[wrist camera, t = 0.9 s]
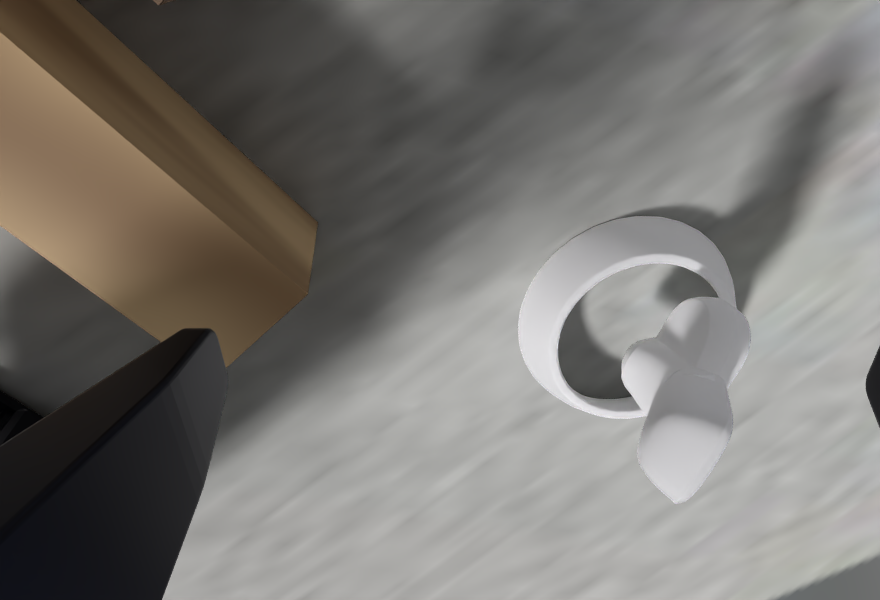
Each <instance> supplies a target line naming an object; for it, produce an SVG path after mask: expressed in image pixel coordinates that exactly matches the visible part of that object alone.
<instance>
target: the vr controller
mask: <svg viewBox="0 0 880 600" xmlns="http://www.w3.org/2000/svg"><path fill="white" fill-rule="evenodd" d="M651 263H658V264H672V265H676V266H681V267H685V268H687V269H689V270H691V271H693V272H695V273H698V274H699V275H700V276H701V277H703V278H704V279H705V280H706V281H708V282H709V283H710V285H711V286H712V287H713V289H714V290H715V291H716V293H717V295H718V298H714V297H695V298H689V299H686V300H684V301H683V302H681V303H680V304H679V305H678V306H677V307H676V308H675V309H674V310H673V311H672V313H671V314H670V316H669V317H668V319H667V320H666V322H665V324H664V325H663V327H662V329H661V330H660V332H659V334H658V335H657V337H655V338H649V339H644V340H640V341H637V342H636V343H634V344H632V345H631V346H630V348H629V349H628V350H627V352H626V353H625V356H624V358H623V360H622V366H621V370H622V375H621V378H622V381H623V383H624V386H625V387H626V389H627V390H628V391H629V392H630V394H631V395H632V396H631V397H625V398H619V399H597V398H591V397H587V396H584V395H582V394H579V393H578V392H576V391H575V390H573V389H572V388H571V387H570V386H569V385H568V383H567V381H566V380H565V378H564V376H563V374H562V371H561V368H560V365H559V360H558V344H559V339H560V333H561V330H562V328H563V326H564V323H565V321H566V318H567V317H568V315H569V313H570V312H571V310H572V309H573V307H574V306H575V304H576V303H577V302H578V301H579V300H580V299H581V298H582V297H583V296H584V294H585V293H586V292H587V291H589V290H590V289H591V288H592V287H594V286H595V285H596V284H598V283H599V282H600V281H602V280H603V279H605V278H607V277H609V276H611V275H613V274H615V273H616V272H619V271H622V270H625V269H628V268H631V267H633V266H638V265H645V264H651ZM518 335H519V346H520V350H521V353H522V356H523V359H524V362H525V364H526V366H527V367H528V369H529V370H530V372H531V374H532V375H533V377H534V378H535V379H536V380H537V381H538V382H539V383H540V384H541V385H542V386H543V387H544V388H545V389H546V390H547V391H548V392H550V393H551V394H552V395H554V396H555V397H557V398H559V399H560V400H562V401H563V402H565V403H567V404H568V405H570V406H572V407H574V408H577V409H579V410H582V411H585V412H587V413H590V414H593V415H596V416H601V417H607V418H613V419H631V418H637V417H643V416H647V418H646V420H645V423H644V426H643V429H642V432H641V436H640V439H639V443H638V449H637V456H638V461H639V465H640V467H641V468H642V470H643V471H644V473H645V474H646V475H647V477H648V478H649V479H650V481H651V482H652V483H653V484H654V485H655V486H656V487H657V488H658V489H659V490H660V491H661V492H662V493H664V494H665V495H666V496H667V497H668V498H669V499H670V500H672V501H673V502H674V503H675V504H678V503H683V502H685V501H686V500H688V499H689V498H691V497H692V496H693V495H694V494H695V493H696V492H697V491H698V489H699V488H700V487H701V485H702V484H703V483H704V481H705V480H706V478H707V477H708V476H709V474H710V473H711V471H712V470H713V468H714V467H715V465H716V463H717V462H718V460H719V459H720V457H721V455H722V453H723V452H724V450H725V448H726V446H727V444H728V442H729V439H730V437H731V434H732V428H733V414H732V410H731V405H730V401H729V396H728V392H727V389H728V388H729V386H730V384H731V383H732V381H733V380H734V378H735V377H736V375H737V374H738V372H739V371H740V369H741V367H742V366H743V364H744V362H745V360H746V358H747V355H748V352H749V348H750V341H751V333H750V327H749V323H748V321H747V319H746V317H745V316H744V315H743V313H741V312H740V311H739V310H737V307H736V299H735V291H734V285H733V280H732V277H731V274H730V271H729V269H728V266H727V264H726V261H725V259H724V257H723V255H722V254H721V253H720V251H719V250H718V248H717V247H716V246H715V244H714V243H713V242H712V241H711V240H710V239H708V238H707V237H706V236H705V235H704V234H703V233H701V232H700V231H699V230H697V229H695V228H693V227H691V226H689V225H687V224H685V223H683V222H681V221H677V220H673V219H669V218H664V217H660V216H633V217H627V218H620V219H615V220H612V221H609V222H606V223H603V224H600V225H597V226H595V227H592V228H590V229H589V230H587V231H585V232H583V233H581V234H579V235H578V236H576V237H574V238H572V239H571V240H570V241H568V242H567V243H566V244H565V245H563V246H562V247H561V248H560V249H558V250H557V251H556V252H555V253H554V254H553V255H552V256H551V257H550V258H549V259H548V260H547V262H546V263H545V264H544V265H543V266H542V267H541V268H540V269H539V271H538V272H537V274H536V276H535V277H534V279H533V281H532V282H531V284H530V286H529V287H528V289H527V292H526V295H525V297H524V300H523V303H522V306H521V309H520V316H519V323H518Z"/></svg>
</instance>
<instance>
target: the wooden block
mask: <svg viewBox="0 0 880 600" xmlns="http://www.w3.org/2000/svg"><path fill="white" fill-rule="evenodd" d="M0 226H1V227H3V228H4V229H5V230H7V231H8V232H10V233H11V234H12V235H14V236H15V237H17V238H18V239H19V240H21V241H22V242H23V243H25V244H26V245H28V246H29V247H30V248H32V249H33V250H34V251H36V252H37V253H39V254H40V255H41V256H43V257H44V258H46V259H47V260H48V261H50V262H51V263H52V264H54V265H55V266H57V267H58V268H59V269H61V270H62V271H63V272H65V273H66V274H68V275H69V276H70V277H72V278H73V279H75V280H76V281H77V282H79V283H80V284H81V285H83V286H84V287H86V288H87V289H88V290H90V291H91V292H92V293H94V294H95V295H97V296H98V297H99V298H101V299H102V300H104V301H105V302H106V303H108V304H109V305H110V306H112V307H113V308H115V309H116V310H117V311H119V312H120V313H121V314H123V315H124V316H126V317H127V318H128V319H130V320H131V321H133V322H134V323H135V324H137V325H138V326H139V327H141V328H142V329H144V330H145V331H146V332H148V333H149V334H150V335H152V336H153V337H155V338H156V339H157V340H159V341H160V342H162V341H164V340H165V339H167V338H169V337H170V336H172V335H173V334H175V333H176V332H178V331H180V330H181V329H184V328H210V329H212V330H213V331H215V333H216V335H217V337H218V340H219V344H220V348H221V352H222V355H223V359H224V363H225V366H226V368H227V367H228V366H229V365H230V364H231V363H232V362H233V361H234V360H236V359H237V358H238V357H239V356H240V355H241V354H242V353H243V352H244V351H246V350H247V349H248V348H249V347H250V346H251V345H252V344H253V343H254V342H256V341H257V340H258V339H259V338H260V337H261V336H262V335H263V334H264V333H266V332H267V331H268V330H269V329H270V328H271V327H272V326H273V325H274V324H275V323H277V322H278V321H279V320H280V319H281V318H282V317H283V316H284V315H285V314H287V313H288V312H289V311H290V310H291V309H292V308H293V307H294V306H295V305H297V304H298V303H299V302H300V301H301V300H302V299H303V298H304V297H305V296H307V295H308V290H309V283H310V276H311V269H312V262H313V255H314V248H315V241H316V233H317V226H318V222H317V221H316V220H315V219H314V218H312V217H311V216H310V215H309V214H308V213H307V212H306V211H305V210H304V209H303V208H302V207H301V206H299V205H298V204H297V203H296V202H295V201H294V200H293V199H292V198H291V197H290V196H289V195H287V194H286V193H285V192H284V191H283V190H282V189H281V188H280V187H279V186H278V185H277V184H275V183H274V182H273V181H272V180H271V179H270V178H269V177H268V176H267V175H266V174H265V173H263V172H262V171H261V170H260V169H259V168H258V167H257V166H256V165H255V164H254V163H253V162H252V161H250V160H249V159H248V158H247V157H246V156H245V155H244V154H243V153H242V152H241V151H240V150H238V149H237V148H236V147H235V146H234V145H233V144H232V143H231V142H230V141H229V140H228V139H226V138H225V137H224V136H223V135H222V134H221V133H220V132H219V131H218V130H217V129H216V128H215V127H213V126H212V125H211V124H210V123H209V122H208V121H207V120H206V119H205V118H204V117H203V116H201V115H200V114H199V113H198V112H197V111H196V110H195V109H194V108H193V107H192V106H191V105H189V104H188V103H187V102H186V101H185V100H184V99H183V98H182V97H181V96H180V95H179V94H177V93H176V92H175V91H174V90H173V89H172V88H171V87H170V86H169V85H168V84H167V83H166V82H164V81H163V80H162V79H161V78H160V77H159V76H158V75H157V74H156V73H155V72H154V71H152V70H151V69H150V68H149V67H148V66H147V65H146V64H145V63H144V62H143V61H142V60H140V59H139V58H138V57H137V56H136V55H135V54H134V53H133V52H132V51H131V50H130V49H129V48H127V47H126V46H125V45H124V44H123V43H122V42H121V41H120V40H119V39H118V38H117V37H115V36H114V35H113V34H112V33H111V32H110V31H109V30H108V29H107V28H106V27H105V26H103V25H102V24H101V23H100V22H99V21H98V20H97V19H96V18H95V17H94V16H93V15H91V14H90V13H89V12H88V11H87V10H86V9H85V8H84V7H83V6H82V5H81V4H80V3H78V2H77V1H76V0H0Z"/></svg>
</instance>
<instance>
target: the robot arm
mask: <svg viewBox="0 0 880 600" xmlns="http://www.w3.org/2000/svg"><path fill="white" fill-rule="evenodd" d="M227 389H228V374H227V370H226V366H225V363H224V359H223V355H222V352H221V348H220V344H219V340H218V337H217V335H216V333H215V331H213V330H212V329H210V328H184V329H181V330H180V331H178V332H176V333H175V334H173V335H172V336H170V337H169V338H167V339H165V340H164V341H162V342H161V343H159V344H158V345H156V346H155V347H153V348H151V349H150V350H148V351H147V352H145V353H144V354H142V355H141V356H139V357H138V358H136V359H134V360H133V361H131V362H130V363H128V364H127V365H125V366H124V367H122V368H120V369H119V370H117V371H116V372H114V373H113V374H111V375H110V376H108V377H106V378H105V379H103V380H102V381H100V382H99V383H97V384H96V385H94V386H92V387H91V388H89V389H88V390H86V391H85V392H83V393H82V394H80V395H78V396H77V397H75V398H74V399H72V400H71V401H69V402H68V403H66V404H64V405H63V406H61V407H60V408H58V409H57V410H55V411H54V412H52V413H50V414H49V415H47V416H46V417H42V416H41V415H39V414H37V413H36V412H34V411H33V410H31V409H29V408H28V407H26V406H24V405H23V404H21V403H20V402H18V401H16V400H15V399H13V398H12V397H10V396H8V395H7V394H5V393H3V392H2V391H0V600H162V598H163V595H164V593H165V590H166V587H167V585H168V582H169V579H170V577H171V574H172V571H173V569H174V566H175V563H176V561H177V558H178V555H179V552H180V550H181V547H182V544H183V542H184V539H185V536H186V534H187V531H188V528H189V526H190V523H191V520H192V518H193V515H194V512H195V509H196V507H197V504H198V501H199V498H200V496H201V493H202V490H203V487H204V483H205V480H206V476H207V472H208V469H209V464H210V460H211V456H212V452H213V448H214V444H215V440H216V436H217V431H218V427H219V423H220V419H221V415H222V411H223V407H224V402H225V398H226V394H227ZM866 392H867V396H868V399H869V401H870V404H871V407H872V409H873V412H874V414H875V417H876V420H877V422H878V425H879V427H880V347H879V349H878V351H877V354H876V356H875V358H874V361H873V363H872V365H871V368H870V370H869V372H868V375H867V378H866Z"/></svg>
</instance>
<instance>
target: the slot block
mask: <svg viewBox="0 0 880 600" xmlns="http://www.w3.org/2000/svg"><path fill="white" fill-rule="evenodd" d="M153 1H154V2H155V3H156V4H157V5H161V4H164V3H168V2H171V1H174V0H153Z"/></svg>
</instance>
